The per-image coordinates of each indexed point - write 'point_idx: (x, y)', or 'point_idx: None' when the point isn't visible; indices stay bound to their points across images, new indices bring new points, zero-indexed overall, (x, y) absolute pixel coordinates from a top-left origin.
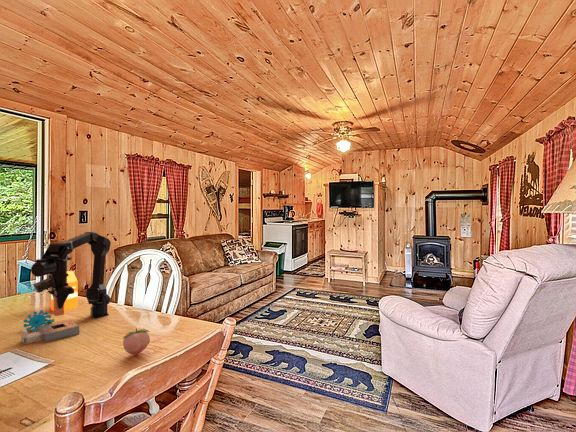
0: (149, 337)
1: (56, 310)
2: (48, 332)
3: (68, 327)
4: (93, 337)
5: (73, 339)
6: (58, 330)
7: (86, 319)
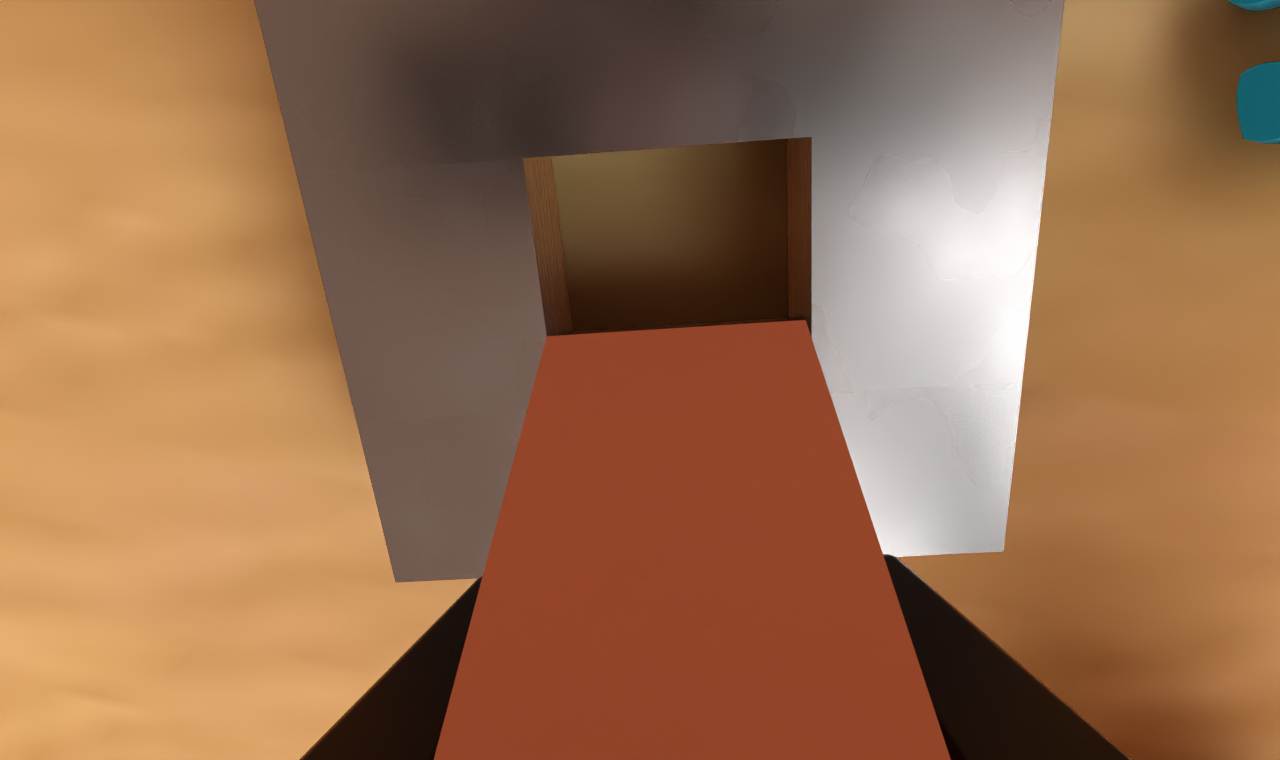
0: None
1: (523, 466)
2: (329, 9)
3: (430, 420)
4: (119, 591)
5: (198, 359)
6: (347, 223)
7: (1141, 722)
